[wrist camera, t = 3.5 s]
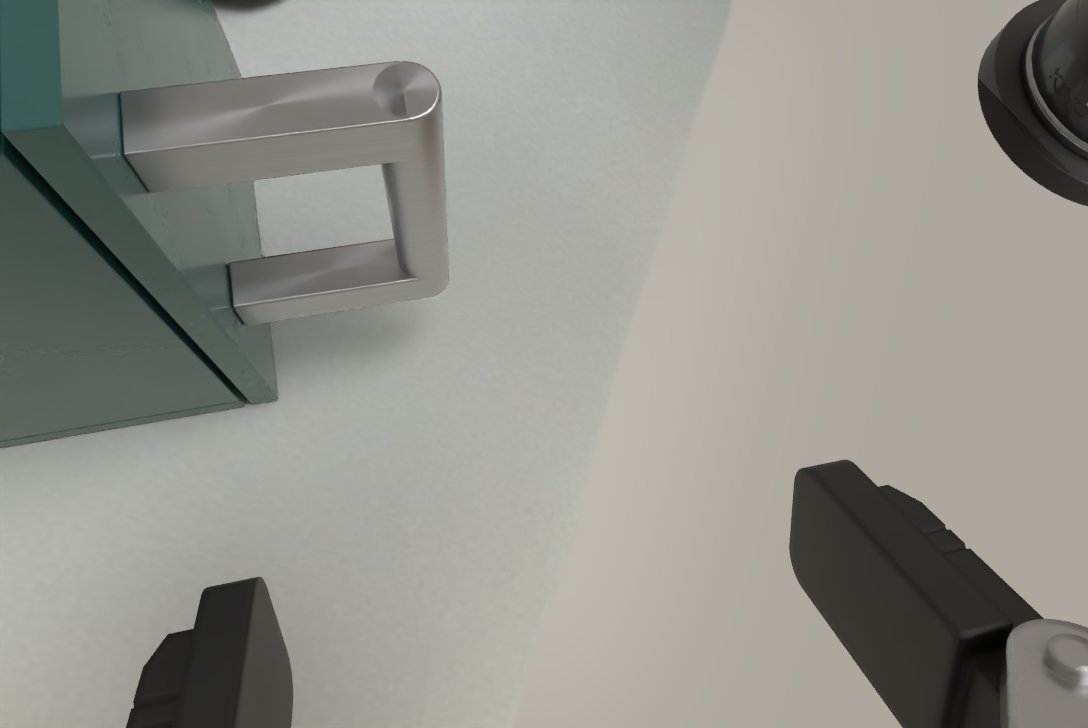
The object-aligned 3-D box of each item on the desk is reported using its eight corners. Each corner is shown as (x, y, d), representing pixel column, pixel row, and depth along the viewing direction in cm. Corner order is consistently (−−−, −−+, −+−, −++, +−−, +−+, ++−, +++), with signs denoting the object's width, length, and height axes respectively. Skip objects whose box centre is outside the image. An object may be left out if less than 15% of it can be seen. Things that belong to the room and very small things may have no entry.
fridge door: (401, 56, 35) (348, -436, 19) (459, 369, 31) (455, 79, 15) (216, 77, 34) (-9, -430, 18) (251, 404, 30) (-2, 131, 14)
